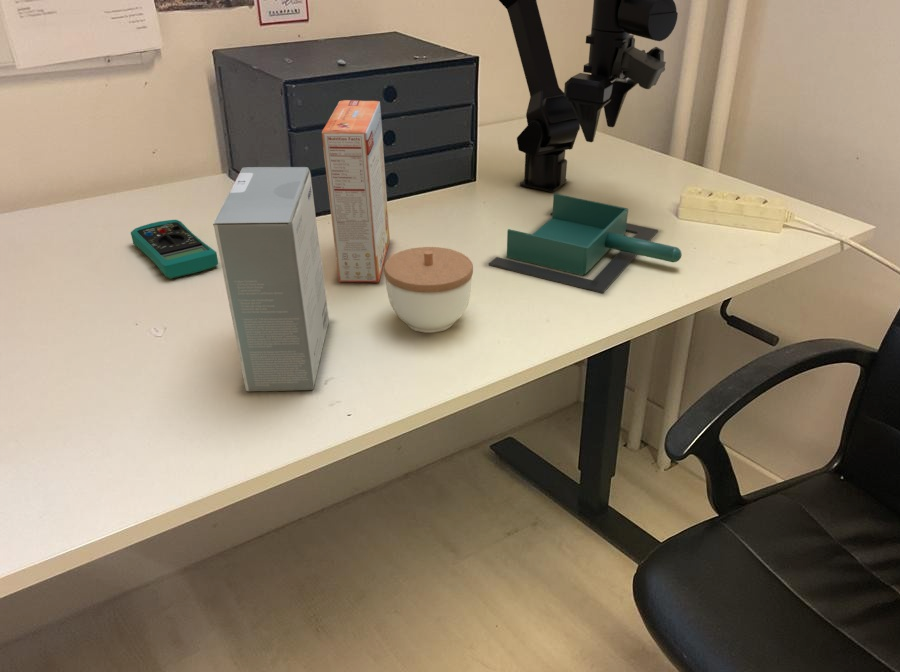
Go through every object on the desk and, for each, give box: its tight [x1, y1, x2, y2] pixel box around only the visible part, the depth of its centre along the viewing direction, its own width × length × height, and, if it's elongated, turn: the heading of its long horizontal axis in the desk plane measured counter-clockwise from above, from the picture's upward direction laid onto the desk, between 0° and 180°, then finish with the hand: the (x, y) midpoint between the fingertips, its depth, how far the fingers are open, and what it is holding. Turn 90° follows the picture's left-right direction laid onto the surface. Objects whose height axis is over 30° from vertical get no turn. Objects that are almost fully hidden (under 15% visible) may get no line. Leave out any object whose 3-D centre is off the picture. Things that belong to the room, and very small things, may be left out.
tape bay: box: [488, 211, 659, 294], centre depth 121 cm, size 18×24×1 cm
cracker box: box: [321, 99, 391, 283], centre depth 110 cm, size 14×6×21 cm, turn 1°
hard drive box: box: [212, 166, 330, 392], centre depth 89 cm, size 16×8×20 cm, turn 5°
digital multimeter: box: [130, 219, 219, 279], centre depth 114 cm, size 7×15×3 cm, turn 39°
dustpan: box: [506, 193, 683, 277], centre depth 119 cm, size 24×17×4 cm
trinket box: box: [383, 246, 474, 334], centre depth 99 cm, size 11×11×9 cm
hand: (600, 134), depth 128 cm, fingers open, 9 cm apart
